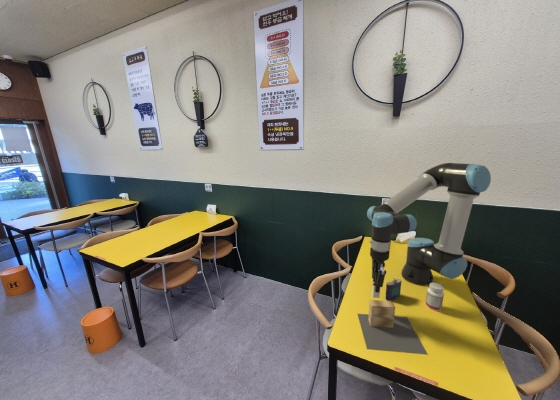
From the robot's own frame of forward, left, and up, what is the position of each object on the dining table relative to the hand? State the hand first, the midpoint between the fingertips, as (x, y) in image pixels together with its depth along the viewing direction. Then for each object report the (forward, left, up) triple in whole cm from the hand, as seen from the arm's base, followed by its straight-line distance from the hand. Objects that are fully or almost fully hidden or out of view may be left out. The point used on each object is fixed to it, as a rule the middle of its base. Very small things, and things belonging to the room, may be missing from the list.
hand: (375, 296), depth 99 cm
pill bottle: (-27, -5, -8) cm, 29 cm away
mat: (-2, +12, -8) cm, 14 cm away
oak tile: (0, +8, -7) cm, 11 cm away
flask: (-11, -10, -8) cm, 17 cm away
